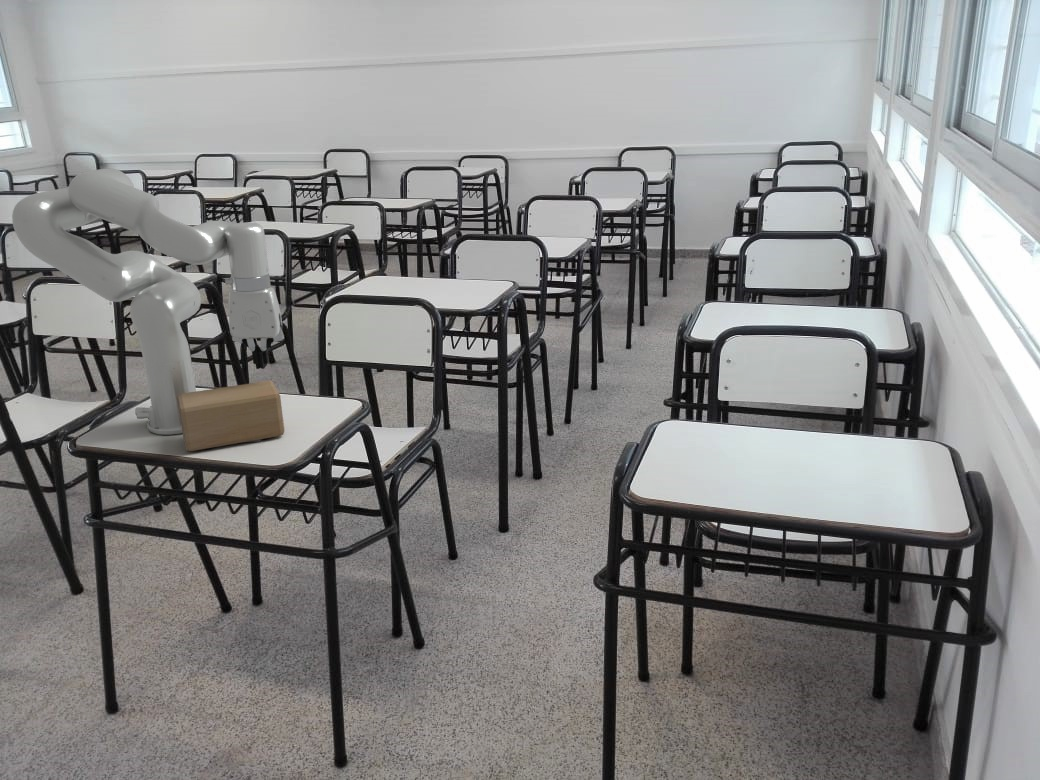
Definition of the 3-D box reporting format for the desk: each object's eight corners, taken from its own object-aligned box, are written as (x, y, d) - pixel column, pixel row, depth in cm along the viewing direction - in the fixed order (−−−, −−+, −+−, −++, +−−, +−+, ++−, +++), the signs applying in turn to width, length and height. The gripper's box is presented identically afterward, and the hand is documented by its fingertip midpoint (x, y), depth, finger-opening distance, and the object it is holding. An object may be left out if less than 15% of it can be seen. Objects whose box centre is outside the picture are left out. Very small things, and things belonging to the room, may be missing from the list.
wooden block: (278, 420, 189) (183, 436, 181) (272, 378, 186) (175, 392, 178) (285, 436, 180) (186, 453, 173) (280, 392, 177) (178, 408, 169)
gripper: (209, 288, 172) (221, 373, 178) (283, 286, 172) (292, 371, 179) (220, 280, 179) (231, 362, 185) (291, 278, 179) (300, 360, 186)
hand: (261, 366), depth 182 cm, fingers closed
